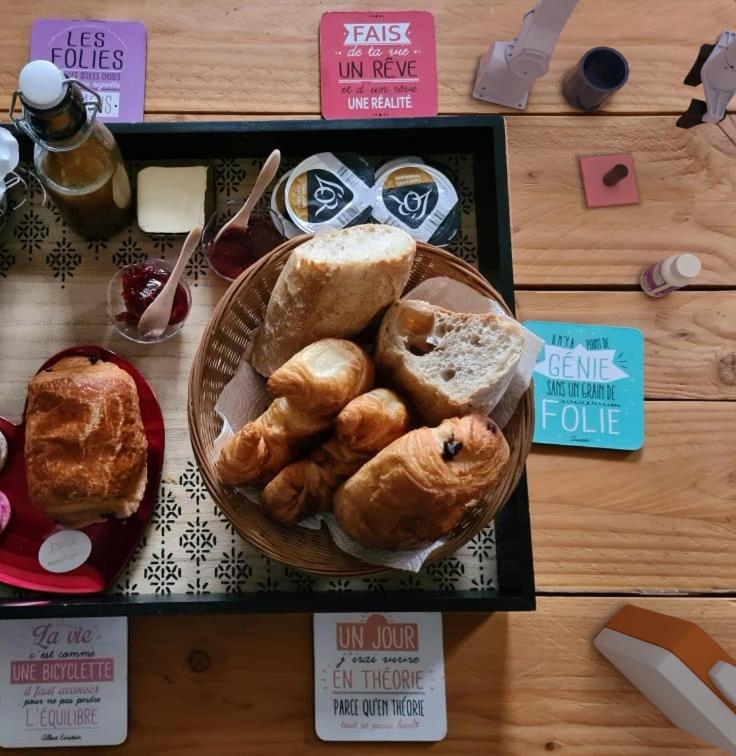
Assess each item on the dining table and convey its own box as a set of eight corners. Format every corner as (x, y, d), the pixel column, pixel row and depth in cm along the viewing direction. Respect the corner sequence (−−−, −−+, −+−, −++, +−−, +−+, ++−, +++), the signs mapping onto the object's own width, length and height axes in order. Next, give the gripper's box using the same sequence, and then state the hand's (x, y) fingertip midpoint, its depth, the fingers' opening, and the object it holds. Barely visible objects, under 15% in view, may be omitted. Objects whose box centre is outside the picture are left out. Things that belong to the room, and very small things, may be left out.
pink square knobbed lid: (586, 207, 127) (599, 198, 123) (578, 159, 129) (590, 148, 125) (637, 203, 128) (651, 193, 123) (628, 155, 129) (642, 144, 125)
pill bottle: (673, 275, 126) (710, 257, 116) (663, 302, 125) (699, 287, 115) (644, 262, 126) (679, 243, 117) (633, 289, 125) (667, 273, 116)
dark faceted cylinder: (558, 105, 130) (575, 85, 124) (567, 63, 131) (585, 41, 125) (604, 116, 130) (624, 97, 124) (613, 74, 131) (633, 53, 125)
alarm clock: (711, 685, 116) (815, 727, 95) (675, 727, 115) (773, 778, 94) (622, 600, 118) (706, 623, 97) (587, 640, 117) (664, 672, 96)
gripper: (764, 108, 105) (702, 150, 119) (778, 18, 107) (716, 71, 121) (716, 96, 105) (660, 140, 119) (731, 7, 107) (674, 60, 121)
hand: (685, 104), depth 120 cm, fingers open, 7 cm apart
